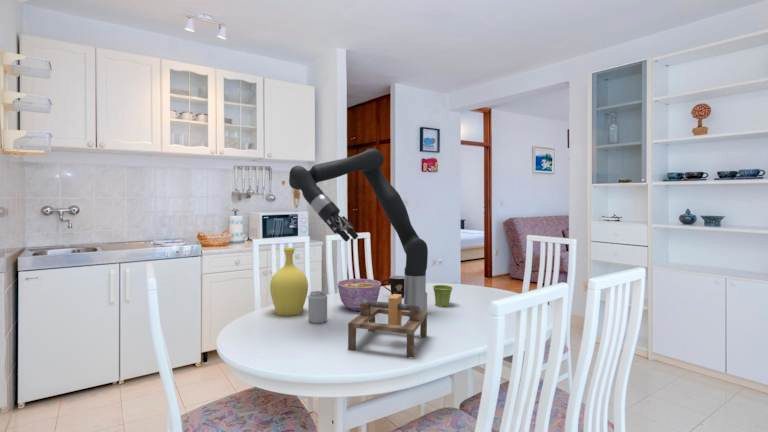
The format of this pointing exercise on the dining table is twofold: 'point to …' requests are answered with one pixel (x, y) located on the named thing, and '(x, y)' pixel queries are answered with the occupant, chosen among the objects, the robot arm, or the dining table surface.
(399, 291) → the coffee mug
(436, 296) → the plant pot
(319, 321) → the can
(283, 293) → the vase
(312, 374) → the dining table surface
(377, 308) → the wooden slider frame
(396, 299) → the orange two-legged bench
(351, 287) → the bowl of food
